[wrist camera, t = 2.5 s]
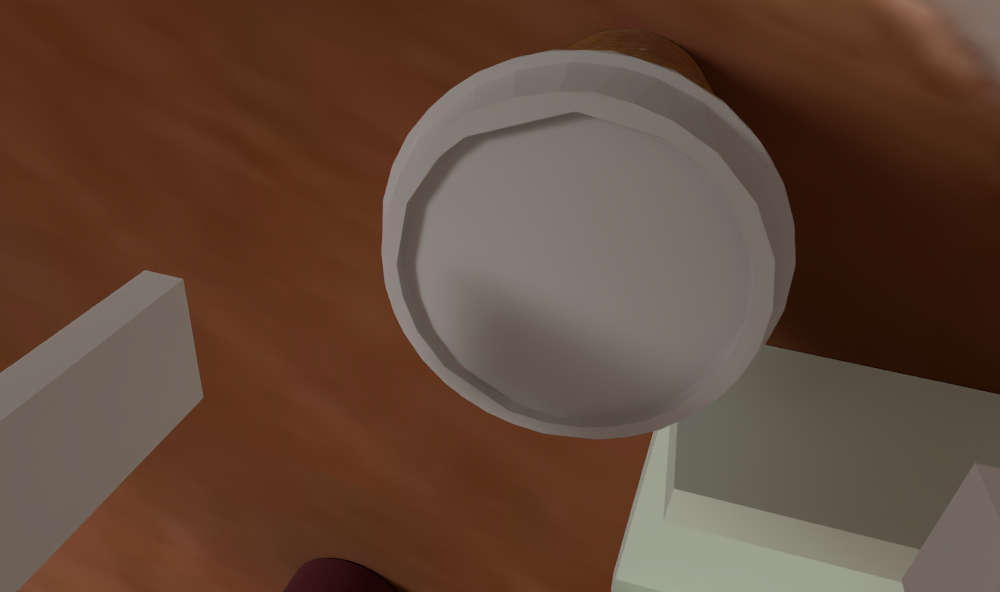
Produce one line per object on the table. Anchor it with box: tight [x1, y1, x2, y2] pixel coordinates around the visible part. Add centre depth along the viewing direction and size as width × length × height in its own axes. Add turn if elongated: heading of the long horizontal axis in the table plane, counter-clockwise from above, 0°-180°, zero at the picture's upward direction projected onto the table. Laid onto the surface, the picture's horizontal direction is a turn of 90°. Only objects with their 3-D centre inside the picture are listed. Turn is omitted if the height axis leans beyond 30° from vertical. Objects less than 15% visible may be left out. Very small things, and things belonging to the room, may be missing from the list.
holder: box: [611, 345, 1000, 592], centre depth 29 cm, size 16×13×9 cm
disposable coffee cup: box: [381, 29, 796, 439], centre depth 20 cm, size 10×10×12 cm
